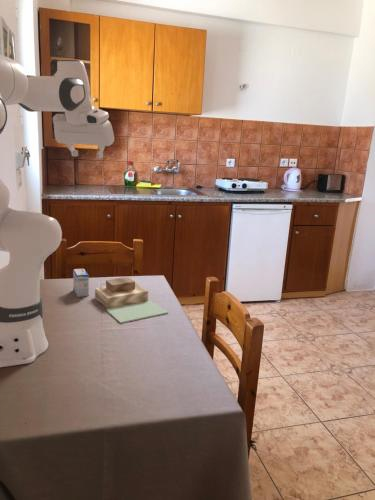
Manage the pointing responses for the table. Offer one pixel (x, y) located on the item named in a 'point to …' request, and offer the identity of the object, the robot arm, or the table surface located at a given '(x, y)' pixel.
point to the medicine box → (80, 282)
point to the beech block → (121, 296)
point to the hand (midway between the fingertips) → (87, 156)
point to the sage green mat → (136, 311)
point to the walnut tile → (120, 284)
